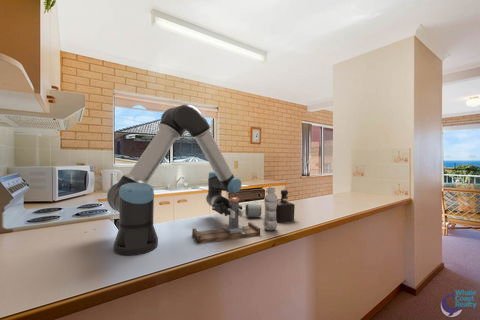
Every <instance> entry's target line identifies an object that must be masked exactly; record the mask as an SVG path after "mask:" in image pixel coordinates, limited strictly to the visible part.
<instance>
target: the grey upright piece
mask: <svg viewBox="0 0 480 320" xmlns="http://www.w3.org/2000/svg"><path fill="white" fill-rule="evenodd" d="M228 200H229V208H230V209H231V210H233V211H235V218H232V217H231V216H229V215H228V224H224V227H223V228H224V229H225V230H226V231H227V232H228V233H229V234H234V233H242V232H243V227H241V225H240V224H239V217H240V216H239V205H240V197H237V196H230V197H228Z"/></svg>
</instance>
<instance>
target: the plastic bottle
mask: <svg viewBox="0 0 480 320" xmlns="http://www.w3.org/2000/svg"><path fill="white" fill-rule="evenodd" d="M275 192H276V187H267V188H266V194H265V196H264V198H263V202H264V203H263V204H264V216H263V217H264V218H263V223H262V224H263V228H264V230H267V231H275V230H276V229H277V227H278V222H277V220H276V207H277V201H278V199H279V198H278V196H277V194H276V193H275Z"/></svg>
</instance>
